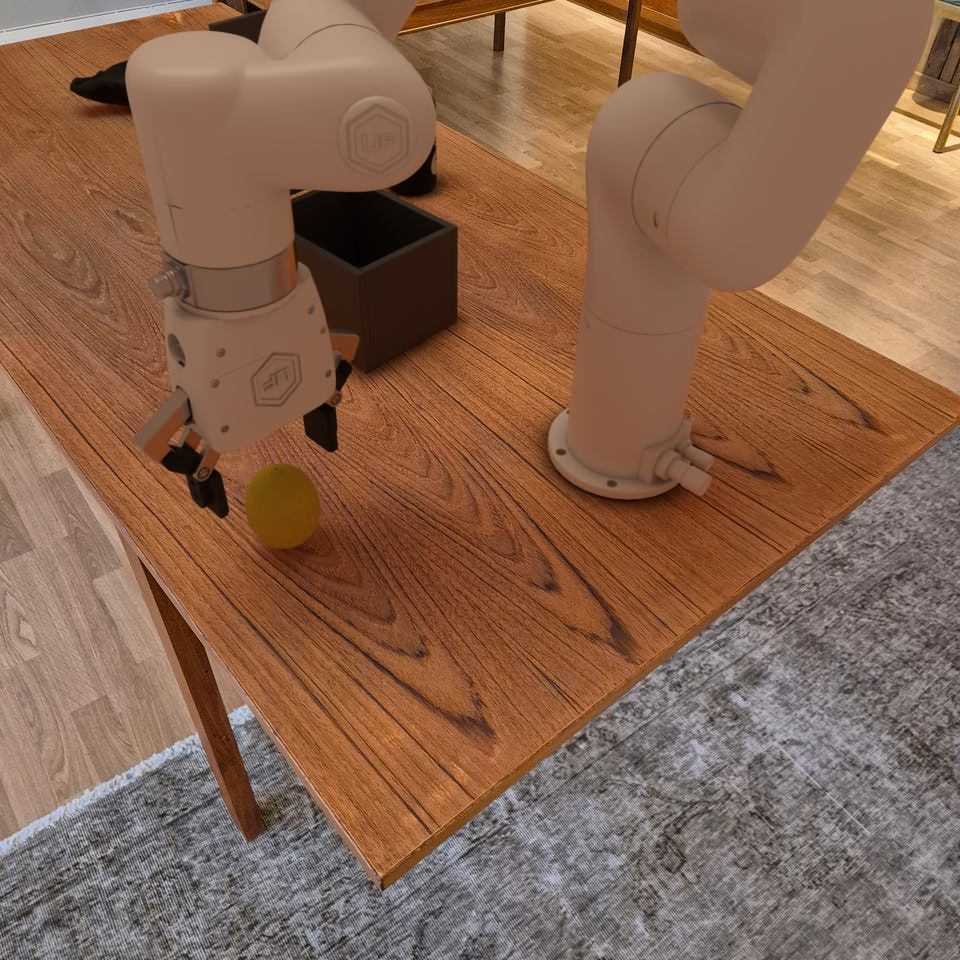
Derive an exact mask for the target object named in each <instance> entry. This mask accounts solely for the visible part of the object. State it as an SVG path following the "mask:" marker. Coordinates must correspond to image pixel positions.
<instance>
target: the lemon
mask: <svg viewBox="0 0 960 960" xmlns="http://www.w3.org/2000/svg"><path fill="white" fill-rule="evenodd" d="M244 510H245V516H246V519H247V522H248V525H249V527H250V529H251V531H252V532H253V533H254V535H255V536H256V537H257V538H258V540H260V541H261V542H263V543H264V544H266V545H267V546H270V547H272V548H275V549H280V550H281V549H283V550H284V549H286V550H287V549H293V548H296V547H299V546H300V545H303V544H304V543H305V542H307V541H308V540H309V539H310V538H311V537H312V536H313V535H314V533H315V532H316V531H317V528H318V526H319V522H320V517H321V511H322V510H321V502H320V497H319V492H318V490H317V487H316V486H315V484H314V482H313V481H312V479H311V477H310V476H309V474H307V473H306V472H305V471H304V470H302V469H301V468H299V467H297V466H295V465H293V464H289V463H273V464H270V465H267V466H265V467H263V468H261V469H260V470H259V471H257V472H256V473H255V474H254V475H253V476H252V478H251V480H250V481H249V483H248V485H247V487H246V492H245V501H244Z"/></svg>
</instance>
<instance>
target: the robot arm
mask: <svg viewBox="0 0 960 960" xmlns="http://www.w3.org/2000/svg"><path fill="white" fill-rule="evenodd" d="M420 2H421V0H272V1H271V2H270V5H269V7H268V8H269V9H268V8H267V9H268V11H267V14H266V16H265V19H264V22H263V24H262V28H261V32H260V36H259V40H258V45H257V44H256V43H254V42H253V41H251V40H249V39H247V38H244V37H241V36H238V35H234V34H229V33H224V32H217V31H209V30H188V31H179V32H173V33H168V34H163V35H160V36H157V37H155V38H153V39H149V40H148V41H146V42H145V41H144V43H142V44H141V45H139V46H138V47H137V48H136V49H135V50H134V51H132V52H131V54H130V56H129V58H128V59H127V60H128V62H127V67H126V73H125V82H126V88H127V93H128V99H129V103H130V106H129V108H130V111H131V116H132V120H133V124H134V129H135V132H136V133H135V134H136V137H137V141H138V146H139V150H140V154H141V157H142V158H141V160H142V163H143V167H144V170H145V176H146V180H147V184H148V189H149V193H150V198H151V201H152V202H151V203H152V206H153V211H154V216H155V221H156V224H157V228H158V231H159V237H160V242H161V247H162V250H161V251H160V256H161V260H162V264H163V265H162V266H163V268H162V270H159V272H158V274H156V275H154V276H151V277H149V278H148V281H147V282H148V286H149V289H150V291H151V293H152V295H153V296H154V297H155V298H156V299H157V300H158V301H163V300H164V309H163V310H164V311H163V313H164V314H163V318H164V319H163V320H164V321H163V322H164V323H163V324H164V326H163V327H164V328H163V329H164V342H165V344H164V345H165V354H166V355H165V356H166V364H167V371H168V376H169V383H170V387H171V392H172V394H171V395H170V396H169V397H168V398H167V399H166V400H165V401H164V403H162V405H161V406H160V407H159V408H158V409H157V410H156V411H155V412H154V413H153V415H152V416H150V418H149V419H148V420H147V421H146V422H145V423H144V424H143V425H142V426H141V427H140V428H139V429H138V431H137V432H135V434H134V436H133V438H132V442H133V444H134V445H135V446H136V447H138V449H140V450H141V451H142V452H143V453H144V454H145V455H147V456H148V457H150V458H151V460H152V459H153V460H154V461H156V462H157V464H159V465H161V466H163V467H164V468H165V470H167V471H169V472H171V473H176V474H181V475H184V476H185V478H186V482H187V486H188V489H189V494H190V496H191V499H192V500H193V502H194V503H195V504H196V505H197V506H198V507H199V508H200V509H202V510H204V509H206V508H208V510H210V511H211V512H212V513H213V514H214V515H216V516H217V517H218V518H219V519H220V520H222V519H224V518H226V517H227V516H228V515H229V513H230V507H229V502H228V499H227V493H226V490H225V484H224V480H223V476H222V474H221V473H220V472H219V471H218V470H217V469H216V468H215V467H216V465H217V463H218V461H219V459H220V457H221V455H228V454H232V453H236V452H238V451H241V450H243V449H245V448H247V447H249V446H251V445H252V444H254V443H256V442H258V441H260V440H262V439H264V438H265V437H267V436H269V435H271V434H272V433H274V432H277V431H278V430H281V429H282V428H284V427H286V426H288V425H289V424H291V423H293V422H294V421H296V420H298V419H300V418H301V417H302V421H303V427H304V434H305V436H306V437H307V438H309V439H310V440H311V441H313V442H314V444H316V445H318V446H319V447H320V448H321V449H323V450H324V451H325V452H326V453H330V454H331V453H332V454H333V453H335V452H336V451H337V450H339V440H338V429H339V426H338V417H337V407H338V406H339V405H340V404H341V403H342V401H343V398H344V397H343V394H342V392H341V391H342V389H343V388H344V386H345V384H346V382H347V380H348V379H349V377H350V375H351V374H352V372H353V364H352V363H351V360H353V359H354V356H355V353H356V349H357V346H358V343H359V336H358V335H356V334H355V333H353V332H352V331H350V330H348V329H347V328H335V327H328V326H327V322H326V317H325V313H324V310H323V306H322V303H321V300H320V297H319V294H318V291H317V288H316V285H315V283H314V280H313V277H312V275H311V272H310V270H309V269H308V267H307V266H305V265H304V264H302V263H300V262H298V258H297V249H296V240H295V232H294V223H293V214H292V205H291V199H292V198H291V197H292V196H290V189H303V190H304V191H307V190H308V191H312V190H323V191H338V192H366V191H374V190H380V189H383V190H385V189H389V188H390V187H391V186H393V185H396V184H398V183H400V182H402V181H404V180H406V179H407V178H409V177H410V176H411V175H413V174H414V173H415V172H416V171H417V170H418V169H419V168H420V167H421V166H422V164H423V163H424V162H425V161H426V159H427V157H428V156H429V154H430V152H431V149H432V147H433V144H434V141H435V136H436V137H437V125H438V121H437V110H436V111H435V106H434V103H433V100H432V97H431V94H430V92H429V90H428V88H427V86H426V85H427V84H426V83H425V81H424V79H423V77H422V76H421V75H420V73H419V72H418V71H417V69H416V68H415V67H414V66H413V64H411V63H410V62H409V61H408V60H407V58H406V57H405V56H404V55H403V54H402V53H401V52H400V51H399V50H398V49H397V48H396V46H395V45H394V44H393V43H394V42H395V40H396V38H397V37H398V35H399V34H400V32H401V31H402V29H403V27H404V25H405V24H406V22H407V20H408V19H409V17H410V16H411V14H412V13H413V11H414V10H415V8H416V7H417V6H418V4H419V3H420ZM935 2H936V0H677V1H676V16H677V21H678V25H679V28H680V30H681V32H682V34H683V35H684V37H685V38H686V40H687V42H688V43H689V44H690V45H691V46H692V47H693V48H694V49H695V50H696V51H698V53H700V54H701V55H702V56H704V57H705V58H706V59H708V60H709V61H710V62H711V63H713V64H715V65H717V66H718V67H720V68H721V69H723V70H725V71H726V72H728V73H729V74H731V75H732V76H734V77H736V78H737V79H739V80H740V81H742V82H744V83H745V84H747V85H748V86H750V87H752V88H751V91H750V93H749V94H748V97H747V99H746V101H745V104H744V105H743V107H741V106H740V105H738V104H736V102H734V101H733V100H731V99H730V98H728V97H726V96H725V95H723V94H721V92H718V91H717V90H715V88H713V87H711V86H709V85H707V84H705V83H703V82H702V81H699V80H697V79H696V78H694V77H690V76H688V75H684V74H681V73H677V72H673V71H671V72H670V71H651V72H647V73H643V74H641V75H638V76H635V77H633V78H631V79H629V80H628V81H626V82H624V83H623V84H621V85H620V86H618V87H617V89H615V90H614V91H613V93H611V94H610V96H608V98H606V100H605V102H604V103H603V104H602V106H601V107H600V109H599V111H598V113H597V114H596V116H595V118H594V121H593V123H592V126H591V128H590V132H589V135H588V139H587V143H586V144H587V145H586V153H585V165H584V166H585V167H584V168H585V172H584V173H585V174H584V175H585V177H584V178H585V195H586V196H585V197H586V210H587V211H586V212H587V249H586V250H587V251H586V262H585V263H586V264H585V273H584V282H583V289H582V296H581V305H580V314H579V323H578V331H577V339H576V348H575V357H574V366H573V374H572V382H571V391H570V399H569V406H568V407H566V408H565V409H564V410H562V411H561V412H560V413H559V414H558V415H557V416H556V417H555V418H554V419H553V421H552V423H551V425H550V428H549V431H548V435H547V436H548V437H547V452H548V455H549V459H550V460H551V462H552V464H553V466H554V467H555V469H556V470H557V471H558V472H559V474H560V475H562V477H564V478H565V479H566V480H567V481H569V482H570V483H572V485H574V486H576V487H578V488H580V489H582V490H584V491H586V492H588V493H591V494H594V495H596V496H601V497H605V498H608V499H614V500H615V499H617V500H626V501H627V500H641V499H647V498H651V497H656V496H659V495H661V494H664V493H667V492H668V491H670V490H671V489H673V488H675V487H676V486H678V485H679V484H680V487H682V488H683V489H686V490H687V491H689V492H691V493H692V494H693V495H696V496H698V497H702V496H703V495H704V494H705V493H706V492H707V491H708V489H709V488H710V486H711V484H712V482H713V476H712V475H710V474H708V473H707V472H708V471H709V470H710V469H711V468H712V466H713V464H714V462H715V457H714V456H713V455H711V454H709V453H708V452H706V451H704V450H703V449H699V448H697V447H695V446H694V445H693V441H692V440H691V438H690V437H691V433H692V430H693V425H694V423H693V422H691V421H689V420H688V419H686V418H684V412H685V409H686V405H687V400H688V396H689V391H690V387H691V383H692V379H693V375H694V371H695V366H696V362H697V357H698V353H699V350H700V345H701V341H702V336H703V332H704V328H705V323H706V319H707V315H708V312H709V308H710V302H711V299H712V294H713V290H715V291H718V292H721V293H728V294H729V293H730V294H734V293H735V294H736V293H744V292H745V293H746V292H748V291H751V290H755V289H758V288H760V287H762V286H764V285H765V284H767V283H769V282H770V281H772V280H774V279H775V278H776V277H778V276H779V275H780V274H781V273H782V272H784V271H785V270H786V269H787V268H788V267H789V266H790V265H791V264H792V263H793V262H794V261H795V260H796V259H797V257H799V255H800V254H801V253H802V251H803V250H805V248H806V246H807V245H808V244H809V242H810V241H811V239H812V238H813V237H814V235H815V234H816V232H817V231H818V230H819V228H820V226H821V225H822V223H823V222H824V220H826V218H827V216H828V214H829V213H830V211H831V210H832V208H833V206H835V205H834V204H835V203H836V201H837V200H838V198H839V197H840V195H841V194H842V192H843V191H844V188H845V187H846V185H847V184H848V182H849V181H850V179H851V177H852V176H853V174H854V173H855V172H856V169H857V168H858V166H859V165H860V163H861V162H862V160H863V158H864V157H865V155H866V153H867V152H868V150H869V149H870V147H871V146H872V144H873V143H874V141H875V140H876V138H877V136H878V135H879V133H880V131H881V129H882V128H883V127H884V125H885V123H886V122H887V120H888V118H889V117H890V116H891V114H892V113H893V110H894V109H895V107H896V105H897V104H898V103H899V101H900V100H901V97H902V96H903V93H904V92H905V91H906V89H907V87H908V85H909V83H910V82H911V80H912V78H913V76H914V74H915V73H916V70H917V68H918V67H919V64H920V63H921V60H922V57H923V55H924V51H925V50H926V46H927V44H928V40H929V37H930V34H931V33H930V32H931V28H932V26H933V21H934V14H935ZM182 426H185V427H184V429H183V431H182V432H181V436H180V438H179V440H178V442H177V444H176V445H174V444H170V440H171V439H172V438H173V436H174V435H175V434H176V433H177V432H178V430H180V428H181V427H182ZM202 440H203V442H204V444H203V446H202V448H201V450H200V452H198V451H197V448H198V447H199V444H200V442H201V441H202ZM691 464H692V465H691Z"/></svg>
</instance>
